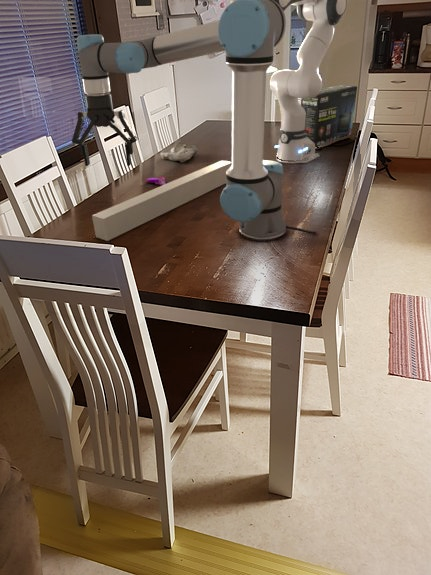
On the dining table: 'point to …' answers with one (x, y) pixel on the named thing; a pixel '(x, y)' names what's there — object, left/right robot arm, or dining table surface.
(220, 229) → the dining table surface
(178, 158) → the fossil
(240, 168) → the left robot arm
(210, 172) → the beam
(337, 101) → the router box
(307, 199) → the dining table surface
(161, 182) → the handgun
